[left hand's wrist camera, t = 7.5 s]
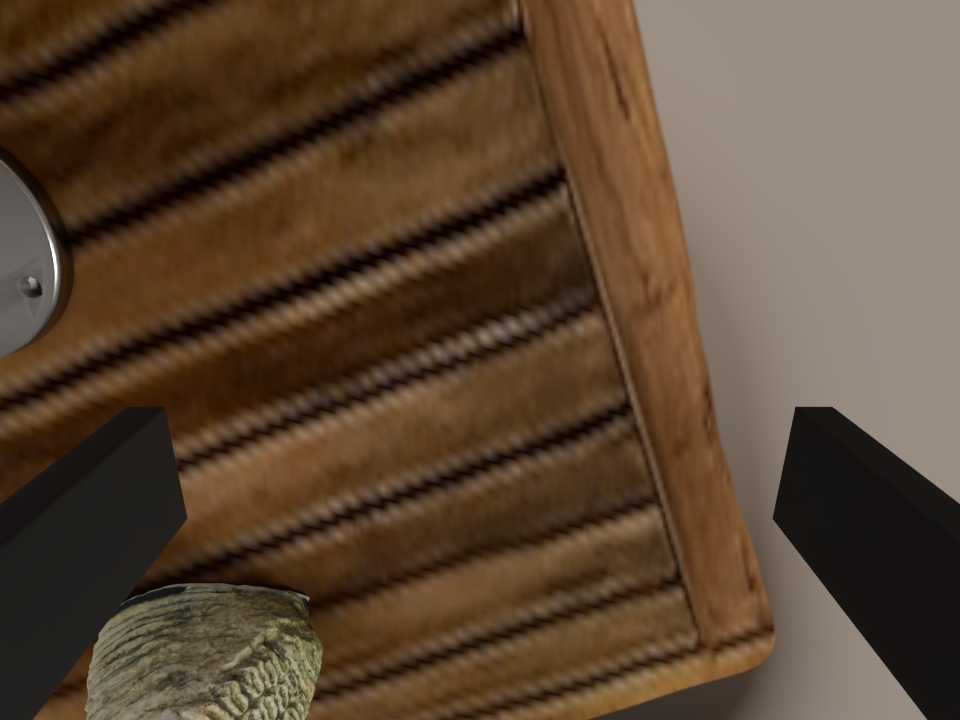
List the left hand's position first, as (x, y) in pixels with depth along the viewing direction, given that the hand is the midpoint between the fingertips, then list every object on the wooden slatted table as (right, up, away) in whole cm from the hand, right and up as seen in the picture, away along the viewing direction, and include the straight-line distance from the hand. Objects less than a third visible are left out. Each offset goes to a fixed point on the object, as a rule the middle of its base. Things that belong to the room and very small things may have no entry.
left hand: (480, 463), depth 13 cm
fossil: (-21, -19, +37) cm, 46 cm away
